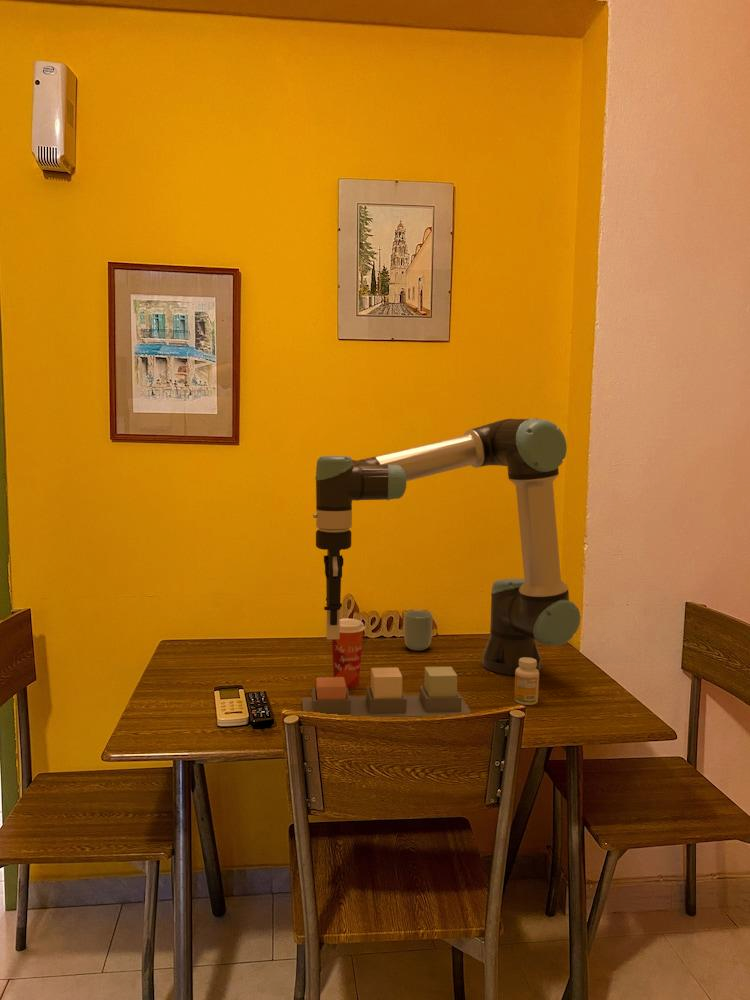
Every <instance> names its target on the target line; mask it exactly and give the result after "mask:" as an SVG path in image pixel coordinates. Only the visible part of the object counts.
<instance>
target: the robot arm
mask: <svg viewBox="0 0 750 1000" xmlns="http://www.w3.org/2000/svg"><path fill="white" fill-rule="evenodd" d="M567 449H568V447H567V440H566V436H565V435H564V433H563V431H562V430H561V428H560V427H558V425H557V424H555V423H554V422H551V421H549V420H547V419H541V418H540V419H539V418H506V419H501V420H498V421H493V422H491V423H488V424H484V425H481V426H477V427H474V428H469V429H466V430H465V432H464V433H463V435H458V436H454V437H450V438H446V439H443V440H437V441H434V442H429V443H426V444H425V443H424V444H421V445H417V446H413V447H408V448H403V449H400V450H395V451H392V452H388V453H384V454H380V455H376V456H371V457H367V458H364V459H358V460H355V459H353V458H352V457H351V456H347V455H323V456H322V455H321V456H319V458H318V459H317V460H316V467H315V477H314V478H315V502H316V503H315V504H316V507H315V508H316V513H313V515H312V517H313V519H316V520H315V526H316V528H317V530H316V531H315V546H316V548H317V549H319V550H325V551H326V550H327V551H326V554H327V555H323V565H324V575H325V578H326V579H325V580H326V583H325V584H326V587H325V588H326V590H325V591H326V596H325V597H326V598H325V601H326V606H324V607H323V609H324V611H326V635H325V637H326V640H328V641H329V640H332V639H340V619H341V618H340V617H341V613H340V612H341V607H343V603H342V602H341V595H342V594H341V592H342V590H341V589H342V577H343V567H344V557H343V555H342V554H341V550H348V549H350V548H351V547H352V531H351V530H350V529H351V528H352V527H353V523H352V522H353V504H352V503H353V501H385V500H387V501H390V500H399V499H401V498H402V497H403V496H404V494H405V493H406V488H407V482H409V481H414V480H417V479H421V478H426V477H430V476H433V475H437V474H442V473H445V472H449V471H453V470H457V469H461V468H465V467H470V466H471V467H473V468H474V469H477V468H481V467H485V466H487V467H488V466H497V467H498V466H500V467H501V466H502V467H507V468H506V469H507V476H508V477H507V478H508V480H509V481H510V482H511V483H512V484H514V486H515V492H516V503H517V513H518V524H519V525H518V526H519V536H520V546H521V547H520V548H521V556H522V568H523V578H502V579H496V580H495V581H494V582H493V583H492V588H491V593H490V596H491V597H490V598H491V599H490V600H491V602H490V607H491V608H490V629H489V630H490V631H489V637H488V639H487V643H486V646H485V649H484V650H483V652H482V658H481V659H482V660H481V661H482V662H481V665H482V666H483V668H485V669H487V670H488V671H491V672H493V673H497V674H501V675H510V676H515V671H516V669H517V668H518V667H520V666H519V659H520V658H523V657H528V658H533V659H536V660H537V667H536V669H537V670H538V671H539V672H540V671H541V669H542V658H541V655H540V652H539V647H538V644H537V642H538V643H539V644H542V645H547V646H550V647H558V646H563V645H565V644H566V643H568V642H569V641H571V639H573V637H574V635H575V634H576V633H577V632H578V630H579V627H580V624H581V612H580V609H579V608H578V606H577V605H576V604H575V603H574V602H573V601H571V600H570V595H569V594H570V592H569V586H568V584H567V583H565V582H564V580H562V576H561V575H562V574H561V566H560V565H561V563H560V554H559V553H560V552H559V541H558V528H557V515H556V505H555V504H556V503H555V493H554V491H555V490H554V481H555V480H556V478H558V477H559V474H560V472H559V470H560V469H559V467H560V466H561V465H562V464H563V460H564V459H565V458H566V457H567Z"/></svg>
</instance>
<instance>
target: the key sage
mask: <svg viewBox="0 0 750 1000" xmlns="http://www.w3.org/2000/svg"><path fill="white" fill-rule="evenodd" d="M423 686H424V690H425V691H426V693H427V695H428V697H457V691H458V674H457V673H456V671H455V670H454V669H453V667H452V666H424V681H423Z"/></svg>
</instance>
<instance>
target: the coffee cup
mask: <svg viewBox="0 0 750 1000" xmlns="http://www.w3.org/2000/svg"><path fill="white" fill-rule="evenodd" d="M365 629H366V627H365V625H364V623H363V621H361V620H359V619H355V618H347V617H346V618H340V639H331V647H332V648H331V649H332V650H331V654H332V655H331V656H332V669H333V670H332V671H333V677H344V680H345V684H346V687H347V688H353V687H357V686H358V685H359V683H360V674H361V673H360V672H361V660H362V648H363V636H364V630H365Z"/></svg>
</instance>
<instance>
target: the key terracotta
mask: <svg viewBox="0 0 750 1000" xmlns="http://www.w3.org/2000/svg"><path fill="white" fill-rule="evenodd" d="M315 686H316V687H315V688H316V700H339V699H346V684H345V680H344V677H334V676H332V677H331V676H330V677H329V676H328V677H327V676H325V677H316V685H315Z"/></svg>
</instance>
